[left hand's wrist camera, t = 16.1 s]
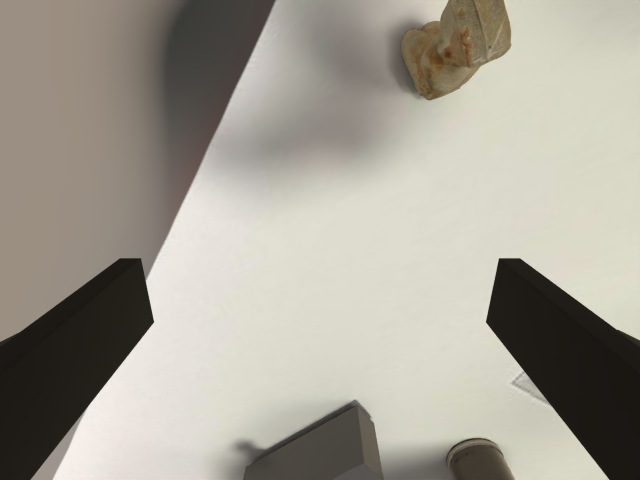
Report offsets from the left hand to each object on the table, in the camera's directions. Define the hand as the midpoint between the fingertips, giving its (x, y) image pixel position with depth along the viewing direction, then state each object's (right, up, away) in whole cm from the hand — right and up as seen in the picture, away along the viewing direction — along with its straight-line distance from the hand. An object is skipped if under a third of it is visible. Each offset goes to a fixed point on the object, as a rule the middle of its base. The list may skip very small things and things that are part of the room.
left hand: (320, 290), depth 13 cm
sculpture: (+12, +21, +25) cm, 35 cm away
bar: (-2, -32, +44) cm, 55 cm away
